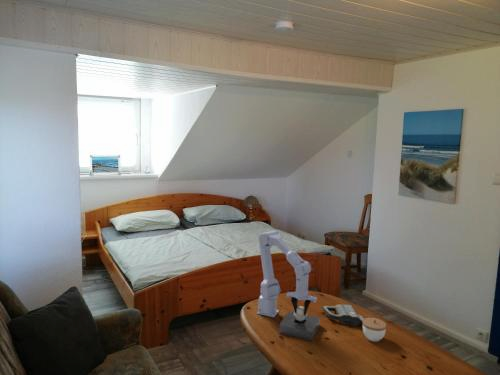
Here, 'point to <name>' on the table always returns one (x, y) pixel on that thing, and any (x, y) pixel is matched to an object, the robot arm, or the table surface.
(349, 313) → the portable electronic device
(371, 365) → the table surface
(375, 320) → the lidded jar
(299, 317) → the flanged cylindrical plug
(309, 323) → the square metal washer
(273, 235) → the robot arm
